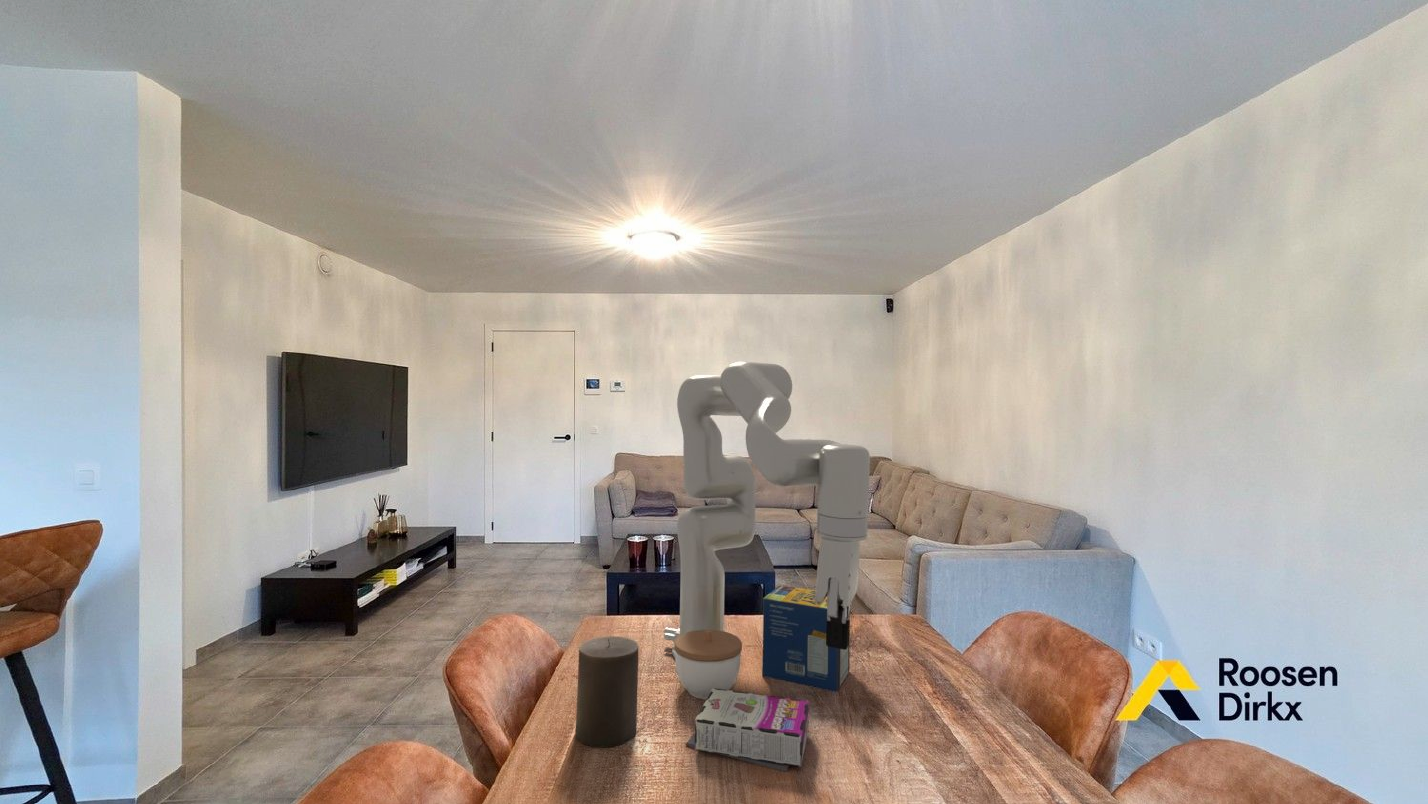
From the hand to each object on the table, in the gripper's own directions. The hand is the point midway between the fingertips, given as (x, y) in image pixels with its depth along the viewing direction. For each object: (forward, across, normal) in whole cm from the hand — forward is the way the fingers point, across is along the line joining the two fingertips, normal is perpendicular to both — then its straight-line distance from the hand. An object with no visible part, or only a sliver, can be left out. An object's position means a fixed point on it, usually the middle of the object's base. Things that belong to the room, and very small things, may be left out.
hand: (837, 645), depth 90 cm
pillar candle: (+18, +9, -35) cm, 40 cm away
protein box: (+18, -26, -11) cm, 33 cm away
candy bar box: (+14, +1, -4) cm, 14 cm away
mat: (+17, +1, -13) cm, 22 cm away
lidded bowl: (+18, -11, -26) cm, 33 cm away
